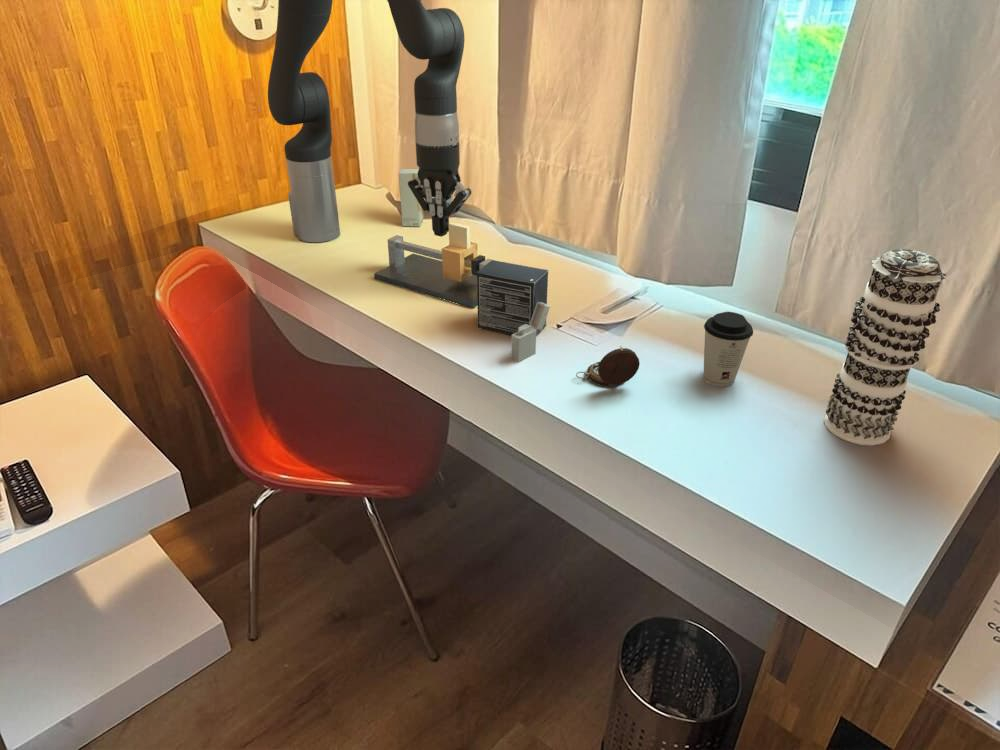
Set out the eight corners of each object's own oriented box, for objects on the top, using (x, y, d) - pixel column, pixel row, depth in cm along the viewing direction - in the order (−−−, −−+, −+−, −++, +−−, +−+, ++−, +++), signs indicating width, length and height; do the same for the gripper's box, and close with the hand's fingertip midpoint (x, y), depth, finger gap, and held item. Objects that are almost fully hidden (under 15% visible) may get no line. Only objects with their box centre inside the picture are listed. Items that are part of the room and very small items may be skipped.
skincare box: (420, 227, 164) (417, 173, 157) (401, 227, 164) (398, 173, 157) (424, 217, 169) (421, 165, 163) (405, 217, 169) (402, 165, 163)
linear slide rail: (374, 279, 140) (371, 245, 136) (413, 258, 148) (411, 226, 145) (472, 308, 129) (472, 272, 125) (508, 284, 138) (508, 250, 134)
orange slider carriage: (442, 277, 134) (441, 227, 129) (460, 267, 138) (459, 218, 133) (460, 282, 132) (459, 232, 127) (477, 271, 136) (477, 222, 131)
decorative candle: (907, 445, 96) (974, 271, 82) (840, 448, 95) (896, 273, 82) (872, 406, 103) (927, 241, 90) (809, 409, 103) (856, 243, 90)
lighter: (518, 362, 113) (519, 317, 109) (510, 358, 114) (511, 313, 110) (548, 346, 118) (550, 302, 113) (540, 343, 119) (542, 299, 114)
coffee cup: (734, 395, 106) (747, 335, 100) (688, 382, 109) (698, 323, 103) (748, 374, 111) (761, 316, 105) (703, 362, 114) (714, 304, 108)
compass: (617, 364, 113) (622, 322, 109) (637, 391, 107) (643, 348, 103) (569, 370, 112) (572, 328, 108) (586, 397, 105) (589, 354, 101)
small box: (548, 325, 124) (550, 268, 118) (533, 341, 119) (535, 283, 113) (492, 313, 128) (492, 257, 122) (476, 328, 123) (475, 271, 117)
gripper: (393, 138, 124) (400, 233, 134) (455, 149, 118) (458, 248, 128) (420, 129, 130) (425, 222, 139) (481, 139, 124) (482, 235, 133)
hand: (441, 234), depth 133 cm, fingers closed
